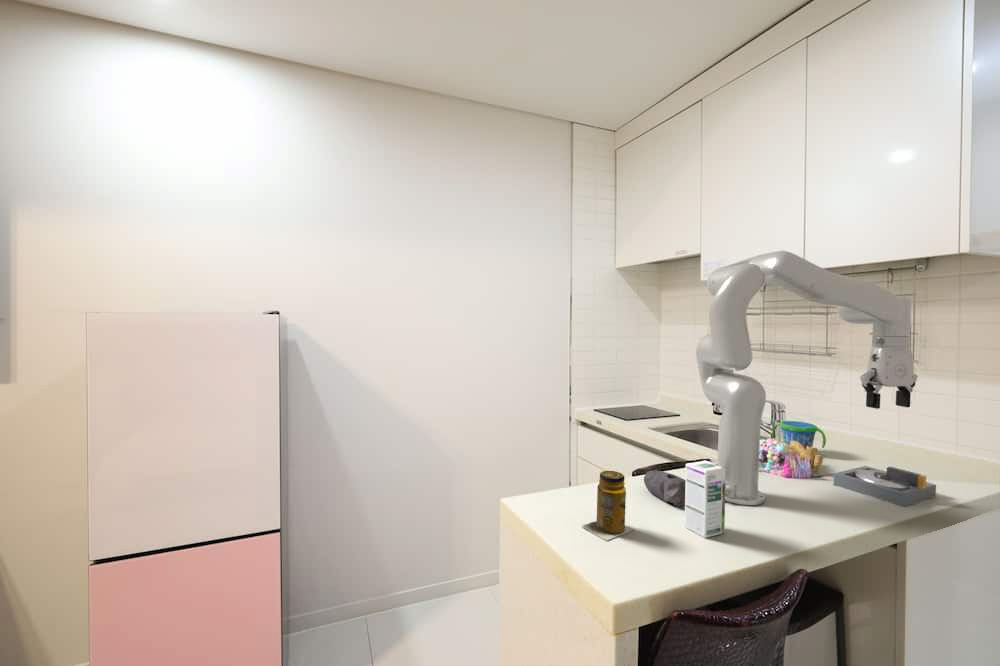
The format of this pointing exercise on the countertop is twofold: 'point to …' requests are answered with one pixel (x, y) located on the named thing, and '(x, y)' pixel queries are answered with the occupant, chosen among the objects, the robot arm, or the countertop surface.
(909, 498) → the housing
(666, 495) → the perforated stone tool
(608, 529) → the condiment
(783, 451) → the pastel sphere sculpture
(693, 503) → the syrup box
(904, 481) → the dial
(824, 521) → the countertop surface
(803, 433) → the snack cup
